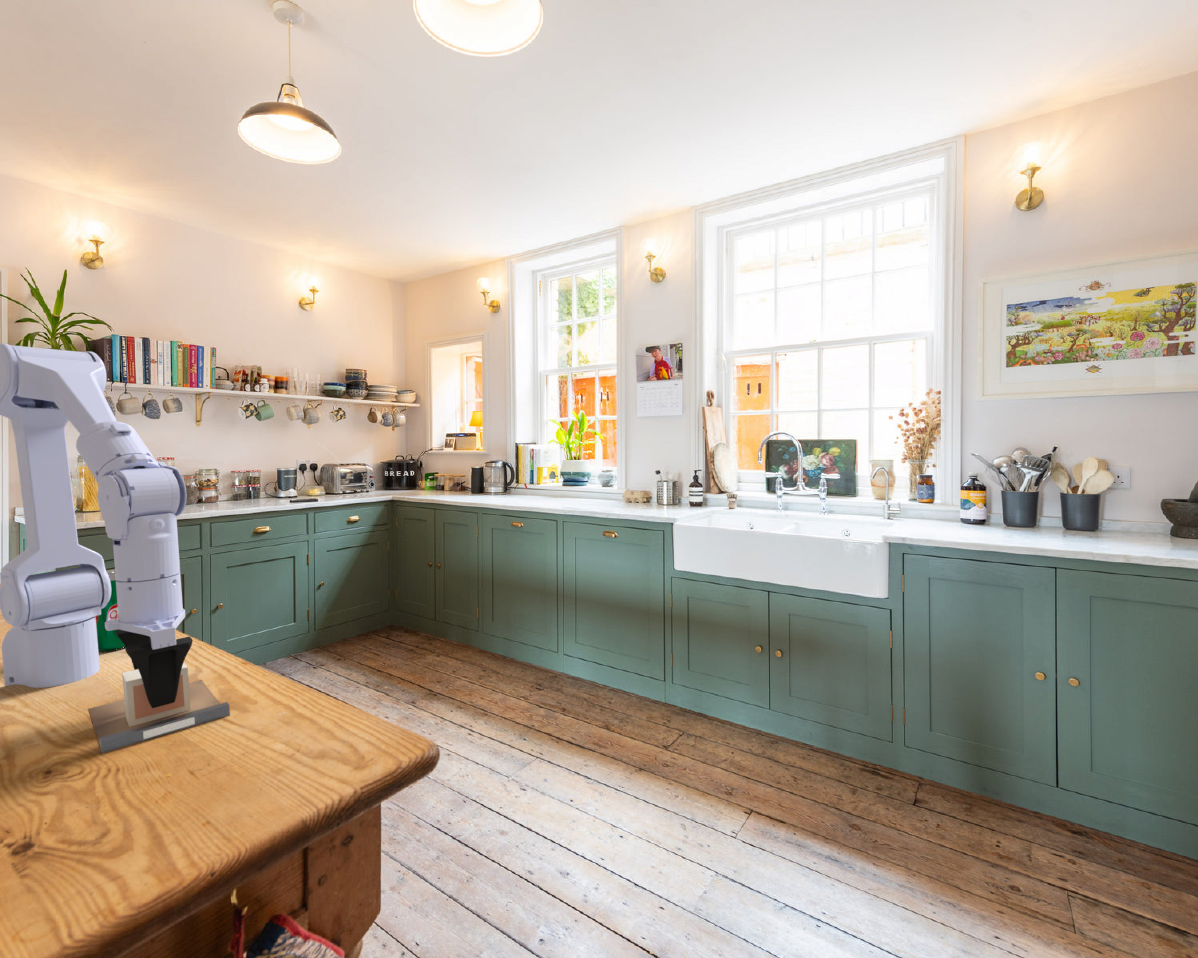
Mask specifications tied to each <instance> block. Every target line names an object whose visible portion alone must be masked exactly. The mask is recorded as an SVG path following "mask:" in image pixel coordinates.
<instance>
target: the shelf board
mask: <svg viewBox="0 0 1198 958" xmlns="http://www.w3.org/2000/svg"><path fill="white" fill-rule="evenodd" d="M189 695H190V709H191V710H188V711H185V712H181V713H178V714H174V715H171V716H167V717H163V718H160V719H156V720H153V721H149V722H145V723H142V724H138V725H135V726H131V727H129V725H128V722H127V719H126V716H125V703H124V699H122V700H117V701H114V702H113V701H112V702H108V703H106V704H102V705H98V706H94V707H90V708H88V711H89V715H90V718H91V721H92V724H93V729H94V733H95V734H96V739H97V742H98V745H99V749H100V750H101V746H100V738H102V737H105V736H109V735H112V734H116V733H119V732H123V731H126V730H130V729H133V728H137V727H140V726H144V725H147V724H151V723H154V722H158V721H161V720H165V719H168V718H172V717H175V716H179V715H182V714H186V713H190V712H193V711H197V710H200V709H204V708H207V707H211V706H214V705H218V704H221V703H222V702H220V700H218V698H217V697H216V696H215V694H214V693H213V692H212V691H211V689H209V687H207V685H206V684H205V682H204V681H203V680H202V679H200V680H199V679H198V680H196V681H192V682H191V681H190V682H189ZM229 716H231V714H230V715H228V716H225V717H222V718H218V719H215V720H212V721H208V722H205V723H202V724H198V725H195V726H192V727H188V728H185V729H182V730H178V731H175V732H179V731H183V730H186V729H189V728H193V727H196V726H200V725H203V724H206V723H209V722H213V721H216V720H219V719H223V718H226V717H229ZM175 732H172V733H168V734H165V735H169V734H173V733H175ZM165 735H161V736H158V737H155V738H151V739H148V740H145V741H141V742H138V743H135V744H131V745H128V746H125V747H121V748H118V749H119V750H120V749H123V748H126V747H129V746H132V745H136V744H139V743H144V742H146V741H151V740H152V739H156V738H159V737H163V736H165ZM118 749H115V750H111V751H108V752H105V753H102V752H101V754H106V753H109V752H113V751H116V750H118Z"/></svg>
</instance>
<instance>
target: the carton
mask: <svg viewBox="0 0 1198 958" xmlns="http://www.w3.org/2000/svg"><path fill="white" fill-rule="evenodd" d="M189 683H190V682H189V670H188V666H187V664H186V662H184V663H183V666H182V669H181V674H180V679H179V686H178V691H177V696H176V700H175V702H174V703H171V704H167V705H163V706H160V707H156V708H152V707H151V705H150V703H149V701H148V699H147V696H146V692H145V688H144V685H143V681H142V678H141V675H140V672H139V670H138V669H136V670H134V669H132V670H129V671H124V672H122V687H123V688H122V689H123V690H122V691H123V700H124V703H125V716H126V719H127V722H128V725H129V727H131V726H135V725H138V724H142V723H145V722H149V721H153V720H156V719H160V718H163V717H167V716H171V715H174V714H178V713H181V712H185V711H188V710H191V709H190V695H189Z"/></svg>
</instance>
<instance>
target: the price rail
mask: <svg viewBox="0 0 1198 958" xmlns="http://www.w3.org/2000/svg"><path fill="white" fill-rule="evenodd" d="M220 703H221V704H218V705H214V706H211V707H207V708H204V709H200V710H197V711H193V712H190V713H186V714H182V715H179V716H175V717H172V718H168V719H165V720H161V721H158V722H154V723H151V724H147V725H144V726H140V727H137V728H133V729H130V730H126V731H123V732H119V733H116V734H112V735H109V736H105V737H102V738H100V746H101V749H100V751H101V754H102V753H103V754H106V753H109V752H108V751H110V752H112V751H111V750H113V751H116V750H118V748H120V749H122V748H121V747H123V748H126V747H129V746H128V745H130V746H132V745H131V744H133V745H136V744H139V743H138V742H140V743H142V742H141V741H143V742H146V741H149V740H148V739H150V740H152V739H151V738H153V739H156V738H159V737H158V736H160V737H162V736H161V735H163V736H165V734H166V735H169V734H168V733H170V734H173V733H175V731H176V732H179V731H178V730H180V731H183V730H186V729H189V728H188V727H190V728H193V727H196V726H199V725H198V724H200V725H203V724H206V723H209V722H208V721H210V722H213V721H216V720H219V719H218V718H220V719H223V718H226V717H229V716H228V715H230V716H231V713H230V712H231V711H230V709H231V708H230V703H229V702H228V701H225V702H220ZM225 716H226V717H225ZM222 717H223V718H222ZM215 719H216V720H215ZM212 720H213V721H212ZM205 722H206V723H205ZM202 723H203V724H202ZM195 725H196V726H195ZM192 726H193V727H192ZM185 728H186V729H185ZM182 729H183V730H182ZM172 732H173V733H172ZM155 737H156V738H155ZM145 740H146V741H145ZM135 743H136V744H135ZM100 746H99V747H100ZM125 746H126V747H125ZM115 749H116V750H115ZM105 752H106V753H105Z"/></svg>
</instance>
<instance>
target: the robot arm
mask: <svg viewBox="0 0 1198 958" xmlns="http://www.w3.org/2000/svg"><path fill="white" fill-rule="evenodd" d="M107 377H108V376H107V370H106V366H105V363H104V361H103V360H102V358H101V357H100V356H99V355H98V354H97V353H95V352H94V351H74V350H64V349H56V348H55V349H54V348H45V347H44V348H43V347H34V346H32V347H31V346H23V345H11V344H8V343H5V342H4V343H3V342H0V416H2V417H4V418H7V419H9V420H10V423H11V427H12V430H13V435H14V442H15V450H16V458H17V467H18V473H19V482H20V490H21V493H20V494H21V500H22V508H23V516H24V517H23V518H24V524H25V531H26V532H25V533H26V541H27V542H26V543H27V548H26V549H25V550H24V551H22V552H20V554H18V555H17V556H16V557H14V558H12V559H11V560H10V561H9V562H7V563H6V564H5V565H4V566H2V568H1V569H0V613H1V616H2V618H3V619H4V621H5V622H6V623H7V624H9V625H11V626H12V627H11V628H10V629H9V630H8V631H7V632H6V634H5V635H4V637H3V639H2V640H3V641H2V643H1V656H2V659H1V660H2V667H3V677H4V678H3V679H4V687H8V686H13V685H21V686H27V687H29V688H35V689H36V688H37V689H38V688H39V689H40V688H41V689H42V688H51V687H58V686H62V685H68V684H71V683H75V682H78V681H82V680H85V679H87V678H89V677H92V676H94V675H95V674H97V673H98V672H100V669H101V668H100V667H101V666H100V655H99V651H98V641H97V628H96V616H98V615H101V609H102V608H104V607H105V606H106V605H107V603H108V602H109V600H110V597H111V582H110V578H109V576H108V574H107V572H106V570H107V569H106V565H105V560H104V557H103V556H102V554H100V553H99V552H97V551H95V550H92V549H90V548H88V547H85V546H83V545H81V544H79V539H78V538H79V537H78V531H77V530H78V529H77V528H78V527H77V522H76V521H77V519H76V513H75V505H74V504H75V503H74V494H73V486H72V485H73V484H72V479H71V470H70V461H69V453H68V444H67V438H66V437H67V435H66V426H67V424H68V422H70V424H71V425H72V426H73V427H74V428H75V429H76V430H77V432H78V433H79V436H78V437H77V439H76V444H75V445H76V446H75V447H76V450H77V452H78V454H79V456H80V457H81V458H82V460H83V461H84V463H85V465H86V466H87V468H88V469H89V472H90V473H91V474H92V476H93V478H94V479H95V481H96V482H97V484H98V489H97V495H96V497H97V504H98V507H99V510H100V511H99V512H100V513H101V515H102V517H103V521H104V526H105V533H106V535H107V538H108V539H112V547H113V548H112V549H113V561H114V569H115V577H116V590H117V603H118V616H119V618H118V619H115V620H110V621H106V622H105V629H106V630H107V631H112V630H117V629H120V630H118V631H116V635H117V636H118V637H119V639H120V640H121V641H122V642H123V644H124V645H125V648H124V650H125V653H126V654H127V655H128V657H129V658H130V659H131V663H132V667H133V670H136V669H138V670H139V672H140V675H141V678H142V681H143V685H144V688H145V692H146V696H147V699H148V701H149V703H150V705H151V707H152V708H156V707H160V706H163V705H167V704H171V703H174V702H175V700H176V696H177V691H178V686H179V679H180V674H181V669H182V666H183V663H185V660H186V657H187V655H188V653H189V651H190V650H191V648H192V646H193V645H192V644H193V638H192V637H191V636H185V637H181V638H177V633H176V632H177V631H176V630H177V628H178V626H179V625H180V624H181V623H182V622H183V621H184V619H185V618H186V610H185V609H184V608H183V595H182V594H183V592H182V591H183V590H182V581H181V580H182V579H181V567H180V566H181V563H180V562H181V561H180V551H179V549H180V548H179V536H178V535H179V534H178V519H177V517H179V516H180V515H181V514H182V513H183V512H184V510H185V508H186V505H187V500H188V499H187V498H188V495H187V493H188V492H187V487H186V483H185V479H184V477H183V476H182V474H181V472H180V470H179V468H178V467H176V466H174V465H168V464H166V463H165V461H157V460H156V458H155V456H154V455H153V454H152V452H151V451H150V449H149V448H148V447H147V445H146V444H145V443H144V441H143V439H142V438H141V436H140V435H139V433H138V432H137V431H136V429H135V428H134V427H133V426H132V425H130V424H128V423H125V422H122V421H118V420H117V419H116V417H115V414H114V412H113V411H112V409H111V406H110V404H109V403H108V401H107V399H106V397H105V394H104V393H105V389H106V388H107V386H106V385H107V379H108V378H107ZM71 566H78V567H71ZM65 567H71V568H66V569H65ZM60 568H64V569H60ZM54 569H59V570H54ZM48 570H53V571H48ZM41 571H42V572H41ZM43 571H45V572H43ZM37 572H40V573H37ZM34 573H35V574H34Z"/></svg>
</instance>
